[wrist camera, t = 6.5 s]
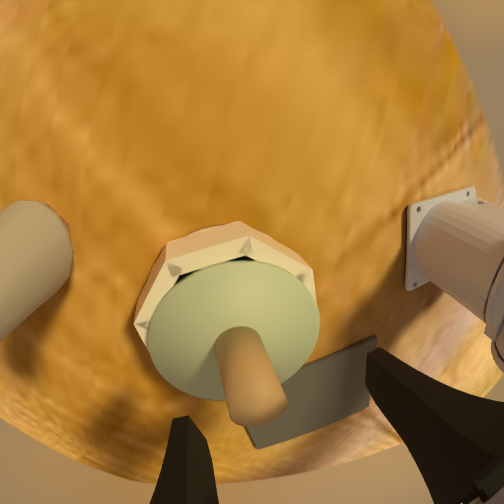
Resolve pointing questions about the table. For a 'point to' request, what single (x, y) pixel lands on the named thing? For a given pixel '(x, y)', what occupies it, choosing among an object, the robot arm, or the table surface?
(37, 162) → the table surface
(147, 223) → the table surface
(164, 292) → the bowl
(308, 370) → the mat
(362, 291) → the table surface
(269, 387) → the lid
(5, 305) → the salt shaker
